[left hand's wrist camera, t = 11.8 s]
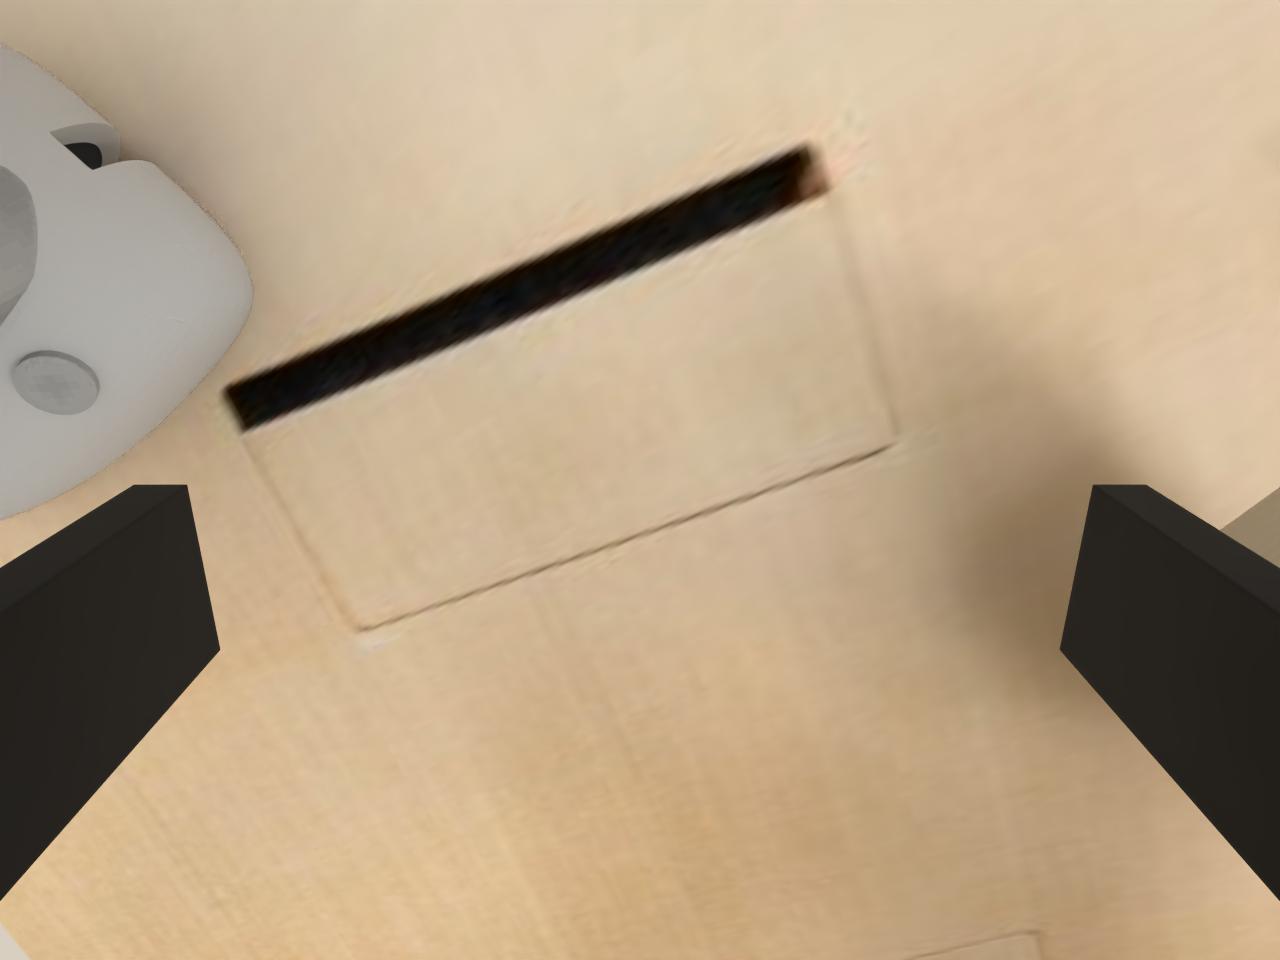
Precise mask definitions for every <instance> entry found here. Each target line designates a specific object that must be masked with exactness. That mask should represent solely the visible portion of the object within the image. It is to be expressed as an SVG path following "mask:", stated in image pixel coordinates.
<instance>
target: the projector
mask: <svg viewBox="0 0 1280 960" xmlns="http://www.w3.org/2000/svg"><path fill="white" fill-rule="evenodd" d="M120 153H121V139H120V136H119V133H118V131H117V130H116V129H115V128H114V127H113V126H112V125H111V124H110V123H108V122H107V121H106V120H105V119H104V118H103V117H102V116H100V115H99V114H98V113H97V112H96V111H95V110H94V109H92V108H91V107H90V106H89V105H88V104H87V103H85V102H84V101H83V100H82V99H81V98H80V97H78V96H77V95H76V94H75V93H74V92H73V91H71V90H70V89H69V88H68V87H66V86H65V85H64V84H63V83H61V82H60V81H59V80H58V79H56V78H55V77H54V76H53V75H51V74H50V73H49V72H47V71H46V70H45V69H43V68H42V67H40V66H39V65H37V64H36V63H35V62H33V61H32V60H30V59H28V58H27V57H25V56H23V55H22V54H20V53H18V52H16V51H15V50H13V49H11V48H9V47H7V46H4V45H2V44H0V520H3V519H6V518H10V517H12V516H15V515H17V514H20V513H22V512H25V511H28V510H30V509H32V508H35V507H37V506H39V505H41V504H43V503H46V502H48V501H50V500H52V499H54V498H56V497H58V496H60V495H62V494H64V493H66V492H67V491H69V490H71V489H73V488H75V487H76V486H78V485H80V484H82V483H83V482H85V481H86V480H88V479H90V478H91V477H93V476H94V475H96V474H97V473H99V472H101V471H102V470H104V469H105V468H106V467H108V466H109V465H110V464H112V463H113V462H114V461H116V460H117V459H118V458H120V457H121V456H122V455H124V454H125V453H127V452H128V451H129V450H130V449H132V448H133V447H134V446H135V445H136V444H137V443H139V442H140V441H141V440H142V439H143V438H144V437H145V436H147V435H148V434H149V433H150V432H151V431H152V430H154V429H155V428H156V427H157V426H158V425H159V424H160V423H161V422H162V421H163V420H164V419H165V418H166V417H167V416H168V415H169V414H171V413H172V412H173V411H174V410H175V409H176V408H177V407H178V406H179V405H180V404H181V403H182V401H183V400H184V399H185V398H186V397H187V396H188V395H189V394H190V393H191V392H192V391H193V390H194V389H195V388H196V387H197V386H198V384H199V383H200V382H201V381H202V380H203V379H204V378H205V376H206V375H207V374H208V373H209V372H210V371H211V370H212V368H213V367H214V366H215V365H216V364H217V362H218V361H219V360H220V359H221V357H222V356H223V355H224V354H225V352H226V351H227V350H228V348H229V347H230V346H231V344H232V343H233V341H234V340H235V338H236V337H237V335H238V334H239V332H240V331H241V329H242V327H243V325H244V323H245V321H246V320H247V318H248V315H249V312H250V310H251V306H252V301H253V285H252V280H251V277H250V274H249V271H248V268H247V266H246V264H245V262H244V260H243V258H242V256H241V254H240V253H239V251H238V249H237V248H236V246H235V245H234V244H233V243H232V241H231V240H230V239H229V237H228V236H227V235H226V234H225V233H224V232H223V231H222V229H221V228H220V227H219V226H218V225H217V224H216V223H215V222H214V221H213V219H212V218H211V217H210V216H209V215H208V214H207V213H206V212H205V211H204V210H203V209H202V208H201V207H200V206H199V205H198V204H197V203H196V202H195V201H194V200H193V199H192V198H191V197H189V196H188V195H187V194H186V193H185V192H184V191H183V190H182V189H181V188H180V187H179V186H178V185H177V184H176V183H175V182H174V181H172V180H171V179H170V178H169V177H168V176H167V175H166V174H165V173H164V172H163V171H162V170H161V169H159V168H158V167H157V166H156V165H155V164H153V163H151V162H148V161H144V160H128V161H122V162H118V160H119V157H120Z"/></svg>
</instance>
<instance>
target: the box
mask: <svg viewBox="0 0 1280 960" xmlns="http://www.w3.org/2000/svg"><path fill="white" fill-rule="evenodd" d="M1220 531H1221V532H1223V533H1224V534H1226V535H1228V536H1229V537H1231V538H1232V539H1234V540H1236V541H1237V542H1239V543H1240V544H1242V545H1244V546H1245V547H1247V548H1249V549H1250V550H1252V551H1253V552H1255V553H1257V554H1258V555H1260V556H1261V557H1263V558H1265V559H1266V560H1268V561H1269V562H1271V563H1273V564H1274V565H1276V566H1277V567H1279V568H1280V488H1278V489H1277V490H1275V491H1274V492H1273V493H1271V494H1270V495H1268V496H1267V497H1266V498H1264V499H1263V500H1261V501H1260V502H1259V503H1257V504H1256V505H1255V506H1253V507H1252V508H1250V509H1249V510H1248V511H1246V512H1245V513H1243V514H1242V515H1241V516H1239V517H1238V518H1236V519H1235V520H1234V521H1232V522H1231V523H1230V524H1228V525H1227V526H1225V527H1224V528H1223V529H1221V530H1220Z"/></svg>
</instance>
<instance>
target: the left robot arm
mask: <svg viewBox="0 0 1280 960" xmlns="http://www.w3.org/2000/svg"><path fill="white" fill-rule="evenodd" d="M219 651H220V646H219V641H218V636H217V631H216V626H215V621H214V616H213V611H212V606H211V601H210V596H209V591H208V586H207V582H206V577H205V572H204V567H203V562H202V557H201V552H200V547H199V542H198V537H197V532H196V527H195V522H194V517H193V512H192V507H191V502H190V497H189V492H188V487H187V485H133V486H131V487H130V488H128V489H126V490H125V491H123V492H122V493H120V494H118V495H117V496H115V497H114V498H112V499H110V500H109V501H107V502H106V503H104V504H102V505H101V506H99V507H97V508H96V509H94V510H93V511H91V512H89V513H88V514H86V515H85V516H83V517H81V518H80V519H78V520H77V521H75V522H73V523H72V524H70V525H69V526H67V527H65V528H64V529H62V530H60V531H59V532H57V533H56V534H54V535H52V536H51V537H49V538H48V539H46V540H44V541H43V542H41V543H40V544H38V545H36V546H35V547H33V548H31V549H30V550H28V551H27V552H25V553H23V554H22V555H20V556H19V557H17V558H15V559H14V560H12V561H11V562H9V563H7V564H6V565H4V566H3V567H1V568H0V901H1V900H2V898H3V897H4V896H5V895H6V894H7V893H8V892H9V890H10V889H11V888H12V887H13V886H14V885H15V884H16V882H17V881H18V880H19V879H20V878H21V877H22V876H23V874H24V873H25V872H26V871H27V870H28V869H29V868H30V866H31V865H32V864H33V863H34V862H35V861H36V860H37V858H38V857H39V856H40V855H41V854H42V853H43V852H44V850H45V849H46V848H47V847H48V846H49V845H50V844H51V842H52V841H53V840H54V839H55V838H56V837H57V836H58V834H59V833H60V832H61V831H62V830H63V829H64V828H65V826H66V825H67V824H68V823H69V822H70V821H71V820H72V818H73V817H74V816H75V815H76V814H77V813H78V812H79V810H80V809H81V808H82V807H83V806H84V805H85V804H86V802H87V801H88V800H89V799H90V798H91V797H92V796H93V794H94V793H95V792H96V791H97V790H98V789H99V788H100V786H101V785H102V784H103V783H104V782H105V781H106V780H107V778H108V777H109V776H110V775H111V774H112V773H113V772H114V770H115V769H116V768H117V767H118V766H119V765H120V764H121V763H122V761H123V760H124V759H125V758H126V757H127V756H128V755H129V753H130V752H131V751H132V750H133V749H134V748H135V747H136V745H137V744H138V743H139V742H140V741H141V740H142V739H143V737H144V736H145V735H146V734H147V733H148V732H149V731H150V729H151V728H152V727H153V726H154V725H155V724H156V723H157V721H158V720H159V719H160V718H161V717H162V716H163V715H164V713H165V712H166V711H167V710H168V709H169V708H170V707H171V705H172V704H173V703H174V702H175V701H176V700H177V699H178V697H179V696H180V695H181V694H182V693H183V692H184V691H185V689H186V688H187V687H188V686H189V685H190V684H191V683H192V681H193V680H194V679H195V678H196V677H197V676H198V675H199V673H200V672H201V671H202V670H203V669H204V668H205V667H206V665H207V664H208V663H209V662H210V661H211V660H212V659H213V657H214V656H215V655H216V654H217V653H218V652H219ZM1060 651H1061V652H1062V653H1063V654H1064V655H1065V656H1066V657H1067V659H1068V660H1069V661H1070V662H1071V663H1072V664H1073V665H1074V667H1075V668H1076V669H1077V670H1078V671H1079V672H1080V673H1081V675H1082V676H1083V677H1084V678H1085V679H1086V680H1087V681H1088V683H1089V684H1090V685H1091V686H1092V687H1093V688H1094V689H1095V691H1096V692H1097V693H1098V694H1099V695H1100V696H1101V697H1102V699H1103V700H1104V701H1105V702H1106V703H1107V704H1108V705H1109V707H1110V708H1111V709H1112V710H1113V711H1114V712H1115V713H1116V715H1117V716H1118V717H1119V718H1120V719H1121V720H1122V721H1123V723H1124V724H1125V725H1126V726H1127V727H1128V728H1129V729H1130V731H1131V732H1132V733H1133V734H1134V735H1135V736H1136V737H1137V739H1138V740H1139V741H1140V742H1141V743H1142V744H1143V745H1144V747H1145V748H1146V749H1147V750H1148V751H1149V752H1150V753H1151V755H1152V756H1153V757H1154V758H1155V759H1156V760H1157V761H1158V763H1159V764H1160V765H1161V766H1162V767H1163V768H1164V769H1165V770H1166V772H1167V773H1168V774H1169V775H1170V776H1171V777H1172V778H1173V780H1174V781H1175V782H1176V783H1177V784H1178V785H1179V786H1180V788H1181V789H1182V790H1183V791H1184V792H1185V793H1186V794H1187V796H1188V797H1189V798H1190V799H1191V800H1192V801H1193V802H1194V804H1195V805H1196V806H1197V807H1198V808H1199V809H1200V810H1201V812H1202V813H1203V814H1204V815H1205V816H1206V817H1207V818H1208V820H1209V821H1210V822H1211V823H1212V824H1213V825H1214V826H1215V828H1216V829H1217V830H1218V831H1219V832H1220V833H1221V834H1222V836H1223V837H1224V838H1225V839H1226V840H1227V841H1228V842H1229V844H1230V845H1231V846H1232V847H1233V848H1234V849H1235V850H1236V852H1237V853H1238V854H1239V855H1240V856H1241V857H1242V858H1243V860H1244V861H1245V862H1246V863H1247V864H1248V865H1249V866H1250V868H1251V869H1252V870H1253V871H1254V872H1255V873H1256V874H1257V876H1258V877H1259V878H1260V879H1261V880H1262V881H1263V882H1264V884H1265V885H1266V886H1267V887H1268V888H1269V889H1270V890H1271V892H1272V893H1273V894H1274V895H1275V896H1276V897H1277V898H1278V900H1279V901H1280V568H1279V567H1277V566H1276V565H1274V564H1273V563H1271V562H1269V561H1268V560H1266V559H1265V558H1263V557H1261V556H1260V555H1258V554H1257V553H1255V552H1253V551H1252V550H1250V549H1249V548H1247V547H1245V546H1244V545H1242V544H1240V543H1239V542H1237V541H1236V540H1234V539H1232V538H1231V537H1229V536H1228V535H1226V534H1224V533H1223V532H1221V531H1220V530H1218V529H1216V528H1215V527H1213V526H1211V525H1210V524H1208V523H1207V522H1205V521H1203V520H1202V519H1200V518H1199V517H1197V516H1195V515H1194V514H1192V513H1191V512H1189V511H1187V510H1186V509H1184V508H1183V507H1181V506H1179V505H1178V504H1176V503H1174V502H1173V501H1171V500H1170V499H1168V498H1166V497H1165V496H1163V495H1162V494H1160V493H1158V492H1157V491H1155V490H1154V489H1152V488H1150V487H1149V486H1147V485H1093V487H1092V492H1091V497H1090V502H1089V507H1088V512H1087V517H1086V522H1085V527H1084V532H1083V537H1082V542H1081V547H1080V552H1079V557H1078V562H1077V567H1076V572H1075V577H1074V582H1073V586H1072V591H1071V596H1070V601H1069V606H1068V611H1067V616H1066V621H1065V626H1064V631H1063V636H1062V641H1061V646H1060Z"/></svg>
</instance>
